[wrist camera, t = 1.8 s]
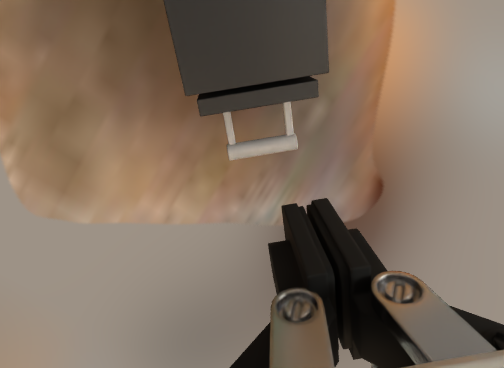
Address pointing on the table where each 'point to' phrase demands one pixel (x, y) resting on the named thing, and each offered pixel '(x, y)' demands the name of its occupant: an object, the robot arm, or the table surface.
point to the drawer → (257, 98)
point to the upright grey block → (247, 41)
